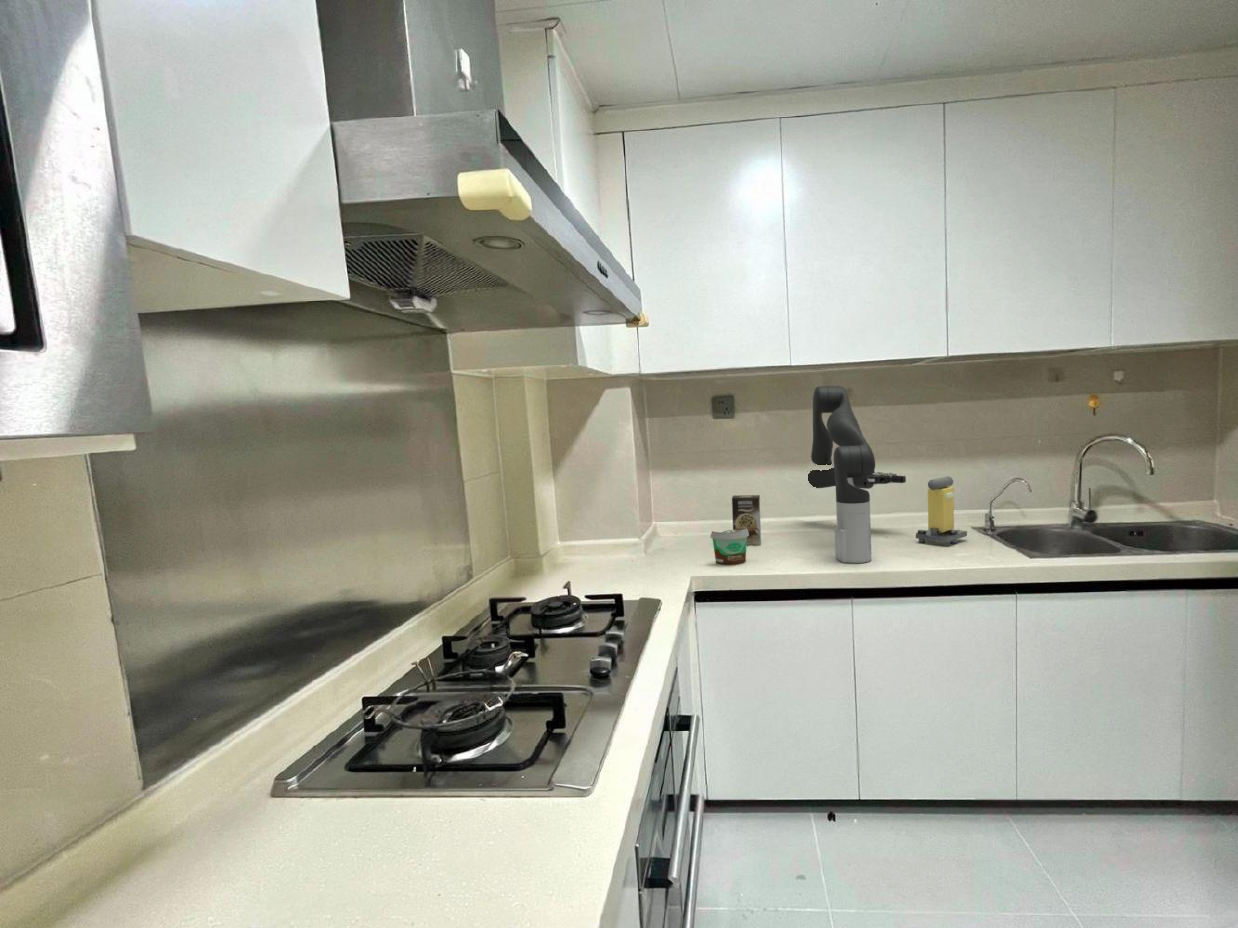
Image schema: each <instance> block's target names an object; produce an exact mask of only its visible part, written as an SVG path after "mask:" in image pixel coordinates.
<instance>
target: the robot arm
mask: <svg viewBox="0 0 1238 928" xmlns="http://www.w3.org/2000/svg"><path fill="white" fill-rule="evenodd" d="M812 396H813V397H812V446H811V453H810V454H811V455H810V456H811V457H810V459H811V460H810V461H811V462H812V463H813V464H815V465H816V464H817V465H826V464H827V465H831V464H832V465H833V468H831V469H829V470H822V471H820V470H812V471H810V473H809V474H808V481H809V483H810V484H811V485H812V486H813V487H816V488H815V489H825V488H826V489H827V488H832V487H835V507H836V508H835V509H836V510H835V511H836V512H835V513H836V514H835V515H836V525H835V526H834V548H835V549H834V553H835V555H834V556H835V559H836V560H838V561H839V562H841V563H849V564H850V563H851V564H862V563H868V562H871V561H872V529H871V495H870V492H869V491H868V490H870V489H872V488H873V487H874V486H876V485H888V484H905V483H906V481H907V480H906V479H907V478H906V475H897V474H896V473H893V472H882V471H877V472H876V471H875V469H876V459H875V454H874V452H873V449H872V448H871V446H870V444H869V443H868V441H867V440H866V438H865V437H864V435H863V431H862V430H861V428H860V425H859V424H860V423H858V419H857V418H856V416H855V414H854V411H853V409H852V406H851V401H850V398H849V394H848V392H847V389H846V388H845V387H844V386H841V385H818V386H817V387H815V388H814V391H813V395H812ZM823 414H830V415H829V416H828V418H827V421H826V425H825V422H824V421H823ZM834 444H836V445H837V446H836V448H835V449H834V448H833V447H834ZM833 449H834V451H833ZM832 456H833V460H832ZM813 487H812V488H813Z"/></svg>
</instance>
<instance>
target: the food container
mask: <svg viewBox="0 0 1238 928" xmlns="http://www.w3.org/2000/svg"><path fill="white" fill-rule="evenodd" d="M748 536H749V532H748V530H747V527H745V526H744V529H741V530H733V529H731V530H730V529H729V530H726V531H714V530H711V533H710V539H712V544H713V550H714V551H713V552H714V558H715V563H716V565H719V566H720V565H722V566H737V565H738V566H739V565H743V564H744V563H746V562H747V561H746V559H747V545H746V543H747V537H748Z"/></svg>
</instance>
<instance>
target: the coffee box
mask: <svg viewBox="0 0 1238 928" xmlns="http://www.w3.org/2000/svg"><path fill="white" fill-rule="evenodd" d="M760 499H761V497H760V495H758V494H756V495H755V494H754V495H753V494H752V495H751V494H750V495H744V494H743V495H732V496H731V507H732V508H731V509H732V512H731V513H732V530H741V529H744V526H745V527H747V530H748V532H749V536H748V537H747V543H746V546H761V545H762V532H761V506H760V505H761V502H760V501H761V500H760Z"/></svg>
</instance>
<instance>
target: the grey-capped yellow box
mask: <svg viewBox="0 0 1238 928" xmlns="http://www.w3.org/2000/svg"><path fill="white" fill-rule="evenodd" d="M953 484H954V479H953V478H952V477H951V476H947V475H946V476H942V477H937V478H933V479H930V480H929V481H928V482H927V487H928V488H927V515H928V516H927V524H928V527H927V528H928V529H927V530H931V528H932V527H933V528H939V532H945V531H948V530H951V529H953V530H955V504H954V503H955V502H954V500H955V495H954V491H955V489H954V487H953V486H952V485H953ZM951 486H952V487H951Z"/></svg>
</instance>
